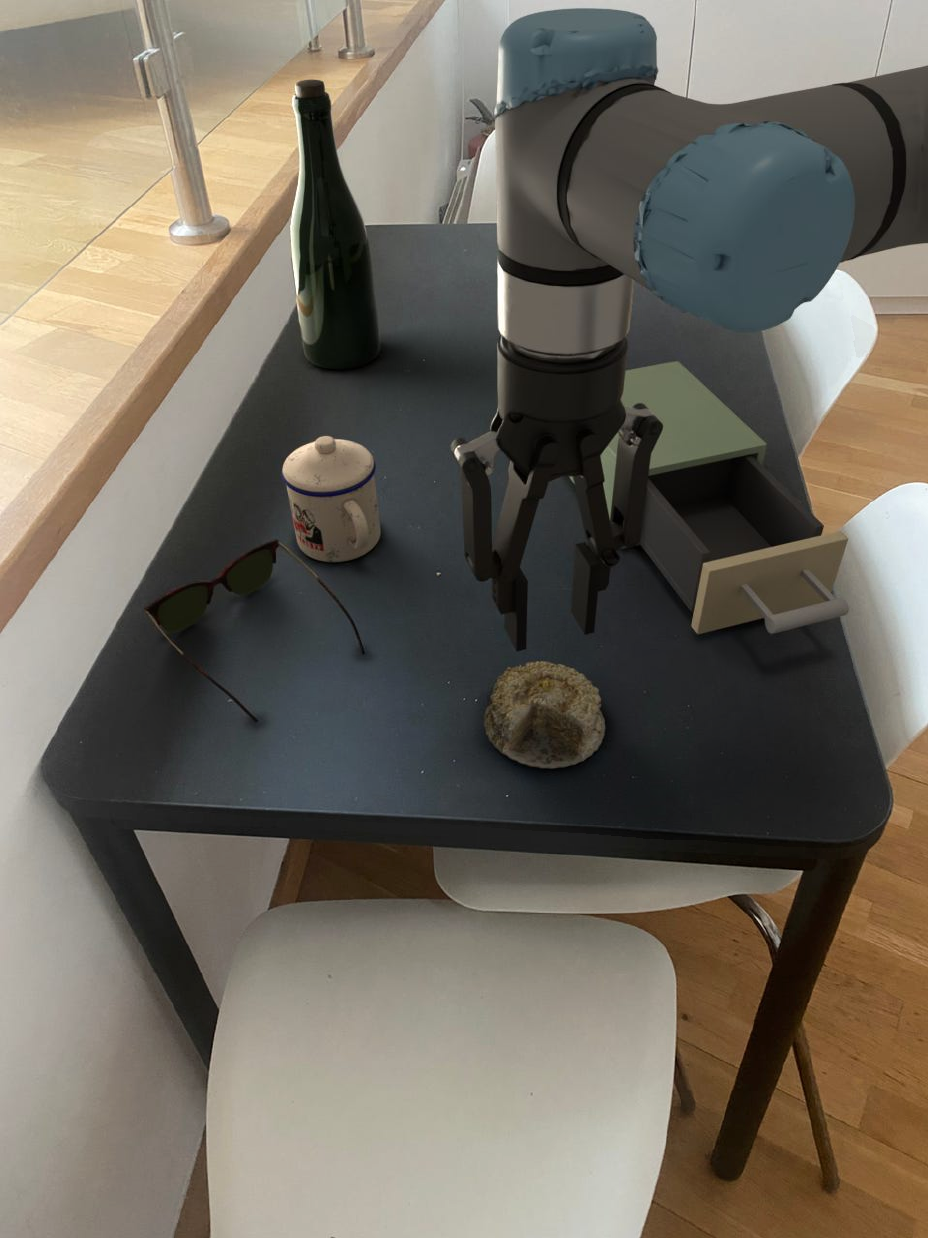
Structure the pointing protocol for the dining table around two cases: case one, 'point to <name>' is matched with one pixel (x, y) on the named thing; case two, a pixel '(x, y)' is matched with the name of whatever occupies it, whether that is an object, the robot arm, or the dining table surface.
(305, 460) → the teacup with lid
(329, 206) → the green wine bottle
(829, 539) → the pull-out drawer
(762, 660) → the dining table surface
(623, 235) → the robot arm
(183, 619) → the sunglasses
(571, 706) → the cake
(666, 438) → the green drawer box
